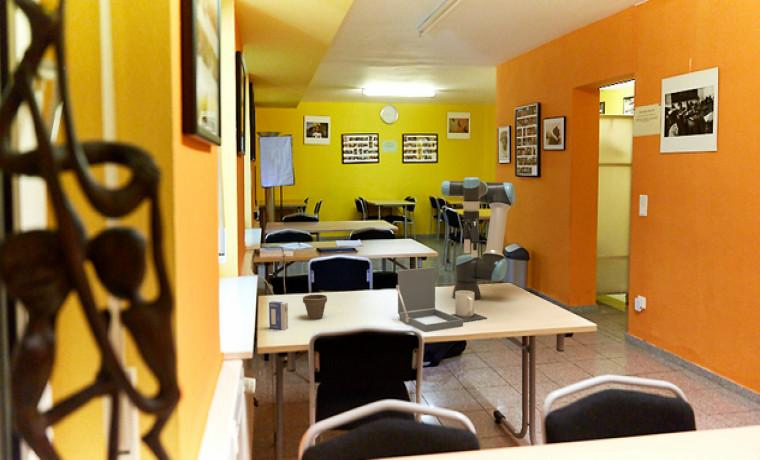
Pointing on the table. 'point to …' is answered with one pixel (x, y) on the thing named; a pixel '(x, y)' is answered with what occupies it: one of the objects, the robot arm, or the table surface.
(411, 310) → the equipment case
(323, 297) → the flower pot
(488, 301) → the table surface
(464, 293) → the mug
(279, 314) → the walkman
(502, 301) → the table surface
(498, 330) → the table surface
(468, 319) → the rubber mat
